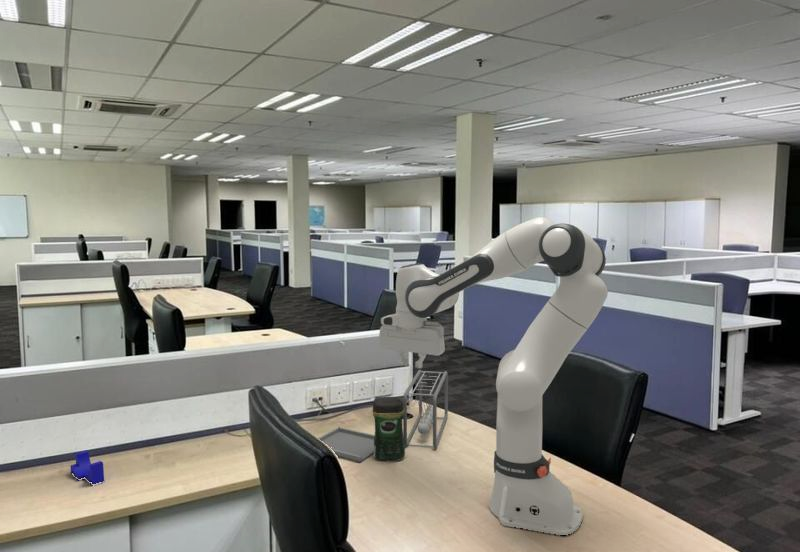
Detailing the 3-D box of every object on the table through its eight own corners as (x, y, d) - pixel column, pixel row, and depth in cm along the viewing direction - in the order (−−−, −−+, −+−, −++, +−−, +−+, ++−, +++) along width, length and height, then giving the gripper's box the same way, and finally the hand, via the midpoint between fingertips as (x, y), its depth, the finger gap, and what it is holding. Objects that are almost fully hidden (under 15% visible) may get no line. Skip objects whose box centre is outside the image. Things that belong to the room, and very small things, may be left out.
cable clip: (71, 475, 163) (69, 455, 162) (88, 470, 166) (86, 450, 166) (87, 488, 155) (85, 467, 154) (104, 483, 158) (103, 462, 158)
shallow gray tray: (389, 443, 183) (389, 438, 183) (360, 463, 169) (359, 457, 169) (338, 431, 193) (338, 426, 193) (307, 449, 179) (307, 443, 179)
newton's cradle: (419, 415, 209) (419, 368, 207) (447, 417, 207) (448, 369, 205) (403, 449, 179) (402, 394, 177) (436, 451, 177) (436, 396, 175)
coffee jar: (404, 451, 178) (404, 393, 176) (405, 462, 170) (404, 401, 168) (373, 451, 178) (372, 393, 176) (372, 462, 170) (371, 401, 168)
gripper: (448, 321, 162) (448, 368, 164) (387, 314, 173) (387, 359, 174) (438, 324, 157) (438, 374, 158) (376, 318, 167) (376, 364, 169)
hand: (411, 366), depth 166 cm, fingers open, 3 cm apart
